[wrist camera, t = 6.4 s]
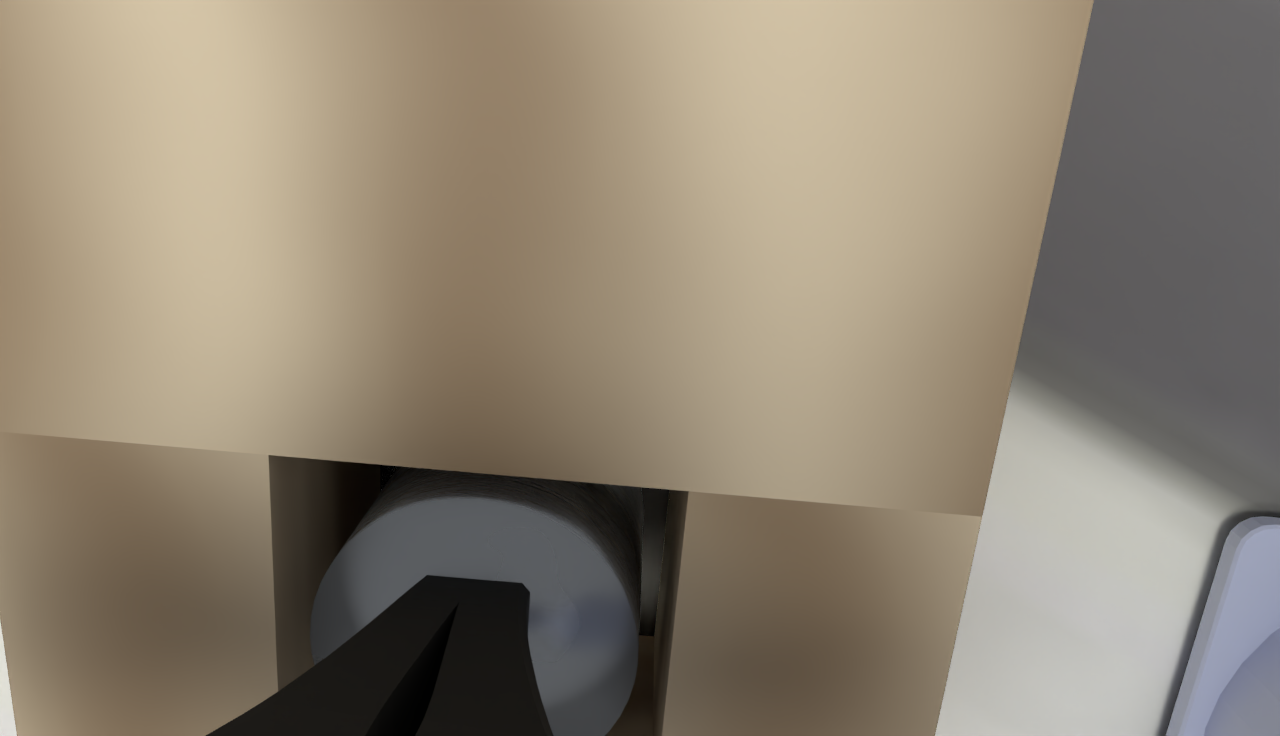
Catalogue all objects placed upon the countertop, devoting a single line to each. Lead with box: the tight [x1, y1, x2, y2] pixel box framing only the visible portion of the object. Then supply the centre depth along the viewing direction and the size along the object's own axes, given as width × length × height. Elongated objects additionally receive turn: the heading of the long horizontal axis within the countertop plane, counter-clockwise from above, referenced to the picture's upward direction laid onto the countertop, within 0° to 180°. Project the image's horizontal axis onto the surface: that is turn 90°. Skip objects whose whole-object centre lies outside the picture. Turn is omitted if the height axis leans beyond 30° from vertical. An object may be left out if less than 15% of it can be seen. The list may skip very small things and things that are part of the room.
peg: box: [310, 466, 644, 736], centre depth 14 cm, size 4×4×4 cm
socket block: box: [0, 0, 1094, 736], centre depth 12 cm, size 12×24×4 cm, turn 175°
